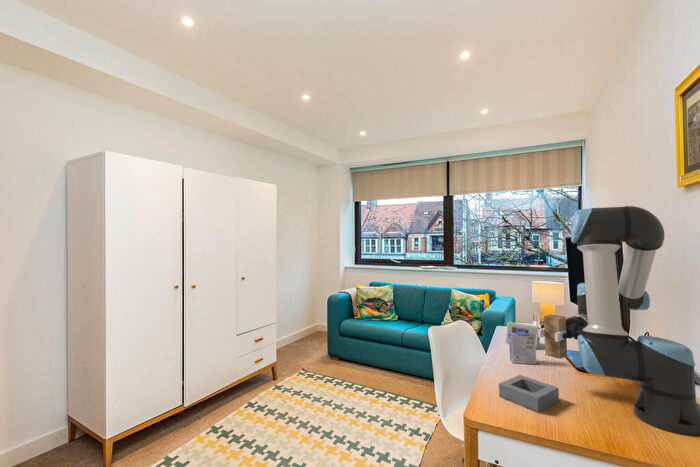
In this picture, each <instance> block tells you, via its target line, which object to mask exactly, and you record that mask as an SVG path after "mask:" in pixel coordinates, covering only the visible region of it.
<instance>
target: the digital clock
mask: <svg viewBox="0 0 700 467" xmlns="http://www.w3.org/2000/svg"><path fill="white" fill-rule="evenodd" d="M516 328H525V332H526V333H532V334H533V335H534V336H535V349H536V350H539V348H540V339H541V338H540V337H538V330H539V329H541V326H536V325H533V324H525V323H520V322H512V321H509V322H507V326H506V334H505V342H506V343H507V344H509V333H517V332H516ZM518 331H524V330H521V329H520V330H518Z"/></svg>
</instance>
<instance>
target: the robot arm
mask: <svg viewBox="0 0 700 467" xmlns="http://www.w3.org/2000/svg"><path fill="white" fill-rule="evenodd" d="M572 219H573V220H572V224H571V225H572V226H571V235H570V236H571V237H570V238H571V240H570V241H571V243H572V244H576V247H577V248H576V249H578V250H579V251H580V252H582V257H583V258H582V260H583V271H584V272H583V273H584V274H583V275H584V282H579V283H578V284H577V289H576V290H577V293H576V296H577V314H575V315H573V316H570V317H566V331H565V330H564V331H560V332H557V333H555V341H557V342H558V341H561V340H564V339H572V338H573V339H574V340H576V341H577V346H578V351H579V354H580V359H581V362H582V366H583V368H584V370H585V371H586V372H587V373H588V374H591V375H594V376H595V375H596V376H600V377H603V378H605V377H608V378H614V379H622V380H628V381H635V382H637V381H638V382H639V385H640V389H639V391H638V394H637V396H636V399H635V401H634V404H633V413H634V415H635V416H636V417H637V418H638V419H640V420H641V421H643V422H644V423H647V424H649V425H651V426H653V427H655V428H658V429H661V430H664V431H668V432H670V433H676V434H680V435H687V436H700V405H699V404H698V402H697V397H696V377H695V376H696V374H695V373H696V372H695V366H696V363H695V360H694V354H693V353H694V352H693V351H692V350H691V348H689V347H688V346H687V345H684V344H682V343H680V342H677V341H673V340H671V339H670V340H669V339H667V338H662V337H658V336H651V335H639V336H638V337H637V338H636V339H637V340H633V339H632V340H631V339H630V335H629V333H628V332H627V331H626V330H625V329H623V327H622V314H621V309H620V301H619V294H621V295H622V297H623V298H624V301H625V304H626V306H627V305H628V303H629V309H628V310H630V311H631V310H632V311H638V310H639V311H646V310H649V309H650V306H651V298H650V295H649V293H648V291H646V286H647V284H648V280H649V277H650V273H651V270H652V267H653V263H654V260H655V256H656V253H657V250H659V249H661V248H662V247H663V244H664V241H665V236H666V235H665V234H666V233H665V230H664V229H665V228H664V226H663V224H662V222H661V220H660V219H659V218H658V217H657V216H656V215H655V214H653V213H652V212H650V211H649V210H648V209H645V208H643V207H639V206H635V205H626V206H608V207H605V206H604V207H590V208H583V209H578V210H576V211H575V213H574V215H573V218H572ZM621 243H624V244H625V245H626V249H625V254H624V259H623V264H622V268H621V272H620V277H619V278H618V271H617V258H616V252H617V251H619V249H621V247H622V246H621V245H622V244H621ZM618 280H619V281H618ZM538 337H540V339H541V338H545V332H544V324H541V325H540V329H539V330H538Z"/></svg>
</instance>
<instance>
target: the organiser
mask: <svg viewBox="0 0 700 467" xmlns="http://www.w3.org/2000/svg"><path fill="white" fill-rule="evenodd" d="M559 392H560V391H559V387H557V386H554V385H551V384H548V383H545V382H543V381H540V380H536V379H534V378H532V377H531V378H530V377H528V376H524V375H522V374H519V375H516V376H514V377H512V378H509V379H507V380H506V379H505V380H504V381H502V382H499V383H498V394H499V396H498V398H501V399H504V400H506V401H509V402H511V403H512V404H516V405H518V406H520V407H523V408H525V409H528V410H530V411H533V412H534V413H537V414H539V413H541V412H543V411H545V410H546V409H549V408H550V407H552V406H554V405H555V404H557V403H559V401H560V399H559V398H560V397H559V396H560V395H559V394H560V393H559Z"/></svg>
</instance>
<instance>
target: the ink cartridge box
mask: <svg viewBox="0 0 700 467" xmlns="http://www.w3.org/2000/svg"><path fill="white" fill-rule="evenodd" d="M520 329H521V330H524V331H518V330H520ZM516 332H517V333H509V343H508V344H509V346H508V348H509V360H510V362H511V363H512V364H525V365H526V364H528V365H536V364H537V351H536V350H537V349H535V336H534V335H533V334H532V333H526V332H525V328H516Z"/></svg>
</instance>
